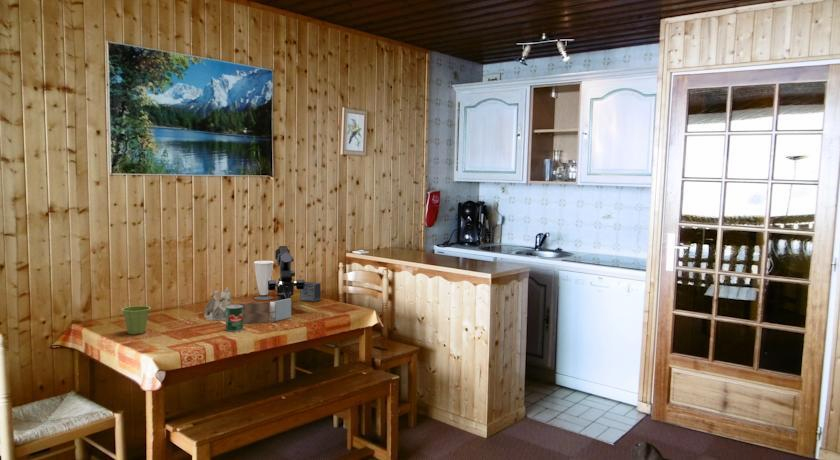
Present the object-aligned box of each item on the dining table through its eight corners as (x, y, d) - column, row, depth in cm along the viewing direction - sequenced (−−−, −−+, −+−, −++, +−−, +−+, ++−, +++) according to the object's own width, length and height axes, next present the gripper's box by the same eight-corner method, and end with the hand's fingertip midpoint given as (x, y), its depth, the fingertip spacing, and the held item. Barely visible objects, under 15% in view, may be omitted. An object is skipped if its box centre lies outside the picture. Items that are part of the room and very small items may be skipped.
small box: (321, 300, 349) (321, 282, 348) (314, 302, 343) (314, 284, 342) (306, 298, 353) (306, 281, 353) (299, 300, 348) (299, 282, 347)
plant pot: (149, 335, 267) (148, 310, 266) (119, 336, 264) (119, 311, 263) (152, 328, 279) (152, 305, 278) (124, 330, 275) (124, 306, 274)
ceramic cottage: (211, 312, 313) (210, 284, 311) (240, 315, 310) (240, 287, 308) (194, 321, 298) (194, 292, 296) (224, 324, 295) (224, 295, 293)
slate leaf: (272, 322, 293) (272, 302, 293) (269, 321, 295) (268, 302, 294) (292, 317, 304) (292, 298, 303) (288, 316, 306) (288, 298, 305)
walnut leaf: (274, 321, 297) (274, 301, 296) (275, 322, 294) (275, 302, 293) (239, 323, 292) (239, 302, 291) (239, 324, 290) (239, 303, 289)
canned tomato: (233, 332, 275) (233, 308, 274) (221, 329, 279) (221, 306, 278) (246, 328, 281) (246, 305, 280) (235, 326, 286) (235, 303, 285)
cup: (250, 299, 348) (250, 262, 346) (259, 295, 359) (259, 260, 358) (268, 300, 346) (268, 263, 344) (276, 296, 357) (277, 261, 356)
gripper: (267, 265, 310) (268, 289, 300) (304, 264, 315) (306, 288, 305) (267, 277, 318) (268, 302, 308) (303, 276, 323) (304, 300, 313)
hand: (286, 298), depth 309 cm, fingers closed
